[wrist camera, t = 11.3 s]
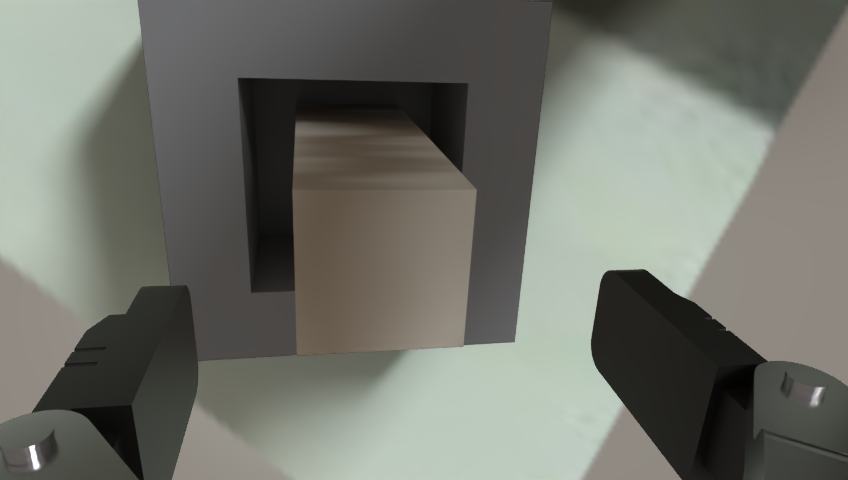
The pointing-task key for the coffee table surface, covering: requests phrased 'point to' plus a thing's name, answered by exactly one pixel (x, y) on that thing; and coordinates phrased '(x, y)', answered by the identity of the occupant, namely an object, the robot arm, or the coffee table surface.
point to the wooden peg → (377, 233)
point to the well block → (332, 84)
